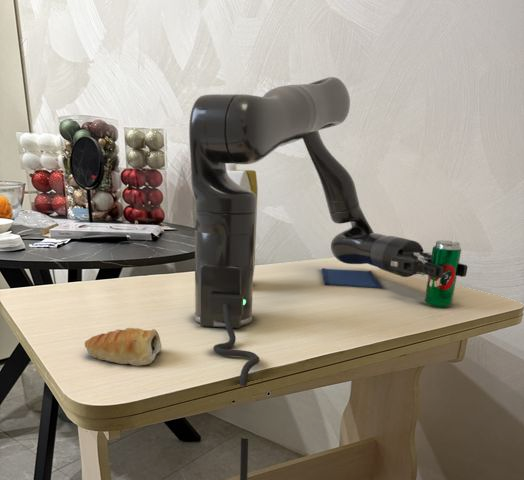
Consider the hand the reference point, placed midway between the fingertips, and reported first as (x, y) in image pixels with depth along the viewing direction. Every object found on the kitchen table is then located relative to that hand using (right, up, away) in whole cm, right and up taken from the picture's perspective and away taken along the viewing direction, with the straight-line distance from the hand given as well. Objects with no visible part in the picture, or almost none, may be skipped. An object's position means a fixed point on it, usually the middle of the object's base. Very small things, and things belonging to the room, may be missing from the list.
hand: (453, 271), depth 96 cm
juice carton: (-42, -1, +12) cm, 44 cm away
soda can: (-1, -6, +5) cm, 8 cm away
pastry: (-53, -15, -28) cm, 62 cm away
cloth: (-15, +2, +24) cm, 28 cm away
